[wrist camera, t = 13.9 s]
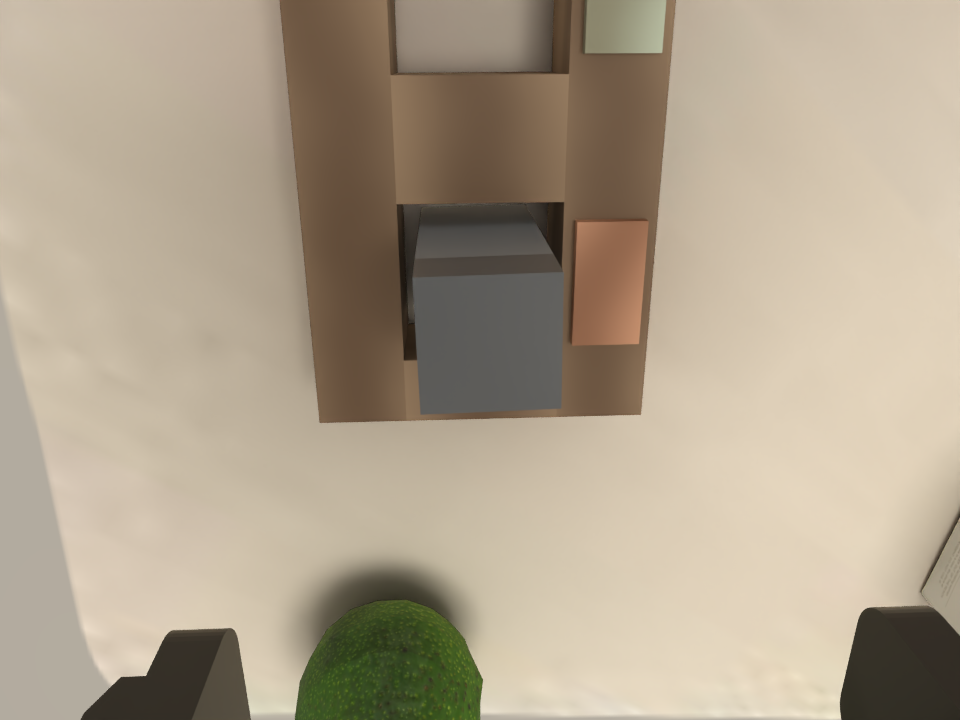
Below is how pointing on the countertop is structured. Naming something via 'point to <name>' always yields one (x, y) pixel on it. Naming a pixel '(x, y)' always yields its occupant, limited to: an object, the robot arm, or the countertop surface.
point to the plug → (486, 311)
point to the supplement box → (946, 582)
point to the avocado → (390, 668)
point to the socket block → (476, 189)
